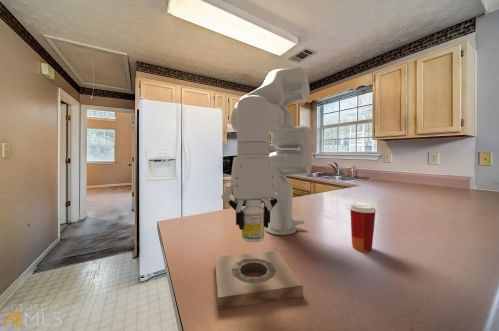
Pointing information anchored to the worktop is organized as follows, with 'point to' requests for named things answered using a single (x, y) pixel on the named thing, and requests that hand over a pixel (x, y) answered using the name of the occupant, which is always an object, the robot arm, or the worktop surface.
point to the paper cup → (362, 226)
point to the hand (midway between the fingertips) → (253, 226)
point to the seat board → (254, 279)
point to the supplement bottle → (253, 221)
